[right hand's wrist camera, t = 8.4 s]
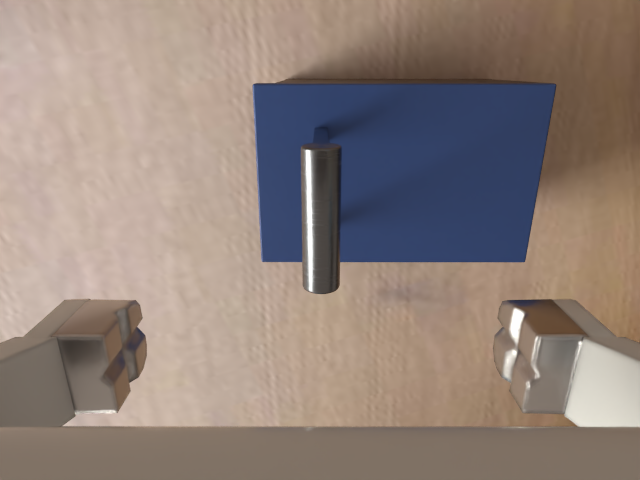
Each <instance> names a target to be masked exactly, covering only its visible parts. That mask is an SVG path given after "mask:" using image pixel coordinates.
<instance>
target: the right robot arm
mask: <svg viewBox="0 0 640 480" xmlns="http://www.w3.org/2000/svg"><path fill="white" fill-rule="evenodd" d="M141 320H142V313H141V308H140V305H139V303H138V302H137V301H136V300H91V299H71V300H64V301H63V302H62V303H61V304H60V305H59V306H57V307H56V308H55V309H54V310H53V311H52V312H51V313H50V314H48V315H47V316H46V317H45V318H44V319H43V320H42V321H41V322H39V323H38V324H37V325H36V326H35V327H34V328H33V329H32V330H30V331H29V332H28V333H27V334H26V335H25V336H24V337H15V338H12V339H10V340H7V341H4V342H2V343H0V480H640V343H638V342H636V341H633V340H630V339H628V338H625V337H616V336H615V335H614V334H613V333H612V332H611V331H610V330H608V329H607V328H606V327H605V326H604V325H603V324H602V323H601V322H600V321H598V320H597V319H596V318H595V317H594V316H593V315H592V314H591V313H589V312H588V311H587V310H586V309H585V308H584V307H583V306H582V305H580V304H579V303H578V302H577V301H576V300H572V299H556V300H552V299H543V300H507V301H502V303H501V305H500V308H499V313H498V320H499V321H500V323H501V324H502V326H503V327H502V328H501V329H500V330H499V332H498V333H497V334H496V335H495V337H494V345H493V353H494V362H495V365H496V368H497V370H498V372H499V374H500V376H501V377H502V378H504V379H505V380H507V381H509V382H510V383H511V385H510V393H511V394H512V396H513V398H514V399H515V401H516V403H517V404H518V406H519V408H520V409H521V411H522V413H544V414H565V415H564V416H565V417H567V418H568V419H569V420H571V421H572V422H573V423H575V424H576V425H578V426H579V427H61V426H63V425H64V424H65V423H67V422H68V421H69V420H71V419H72V418H74V417H75V414H96V413H118V411H119V409H120V408H121V406H122V404H123V403H124V401H125V399H126V398H127V396H128V394H129V393H130V385H129V383H130V382H131V381H133V380H135V379H136V378H138V377H139V376H140V374H141V372H142V370H143V368H144V364H145V360H146V356H147V344H146V337H145V335H144V334H143V333H142V332H141V330H140V329H139V328H138V327H137V326H138V324H139V323H140V321H141Z"/></svg>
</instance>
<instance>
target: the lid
mask: <svg viewBox="0 0 640 480" xmlns="http://www.w3.org/2000/svg"><path fill="white" fill-rule="evenodd" d="M555 90H556V84H551V83H256V84H253V103H254V122H255V142H256V162H257V181H258V201H259V220H260V240H261V259H262V262H302V267H303V287H304V289H305V290H307V291H308V292H311V293H315V294H327V293H331V292H334V291H336V290H337V289H338V288H339V285H340V262H525V259H526V253H527V248H528V242H529V236H530V231H531V225H532V219H533V214H534V208H535V202H536V197H537V191H538V186H539V180H540V174H541V169H542V163H543V157H544V152H545V146H546V140H547V135H548V129H549V124H550V118H551V112H552V107H553V101H554V95H555Z"/></svg>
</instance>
